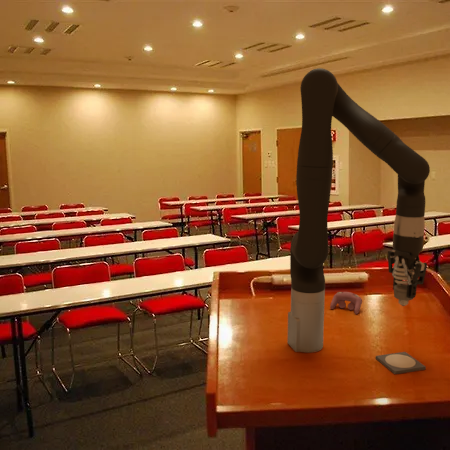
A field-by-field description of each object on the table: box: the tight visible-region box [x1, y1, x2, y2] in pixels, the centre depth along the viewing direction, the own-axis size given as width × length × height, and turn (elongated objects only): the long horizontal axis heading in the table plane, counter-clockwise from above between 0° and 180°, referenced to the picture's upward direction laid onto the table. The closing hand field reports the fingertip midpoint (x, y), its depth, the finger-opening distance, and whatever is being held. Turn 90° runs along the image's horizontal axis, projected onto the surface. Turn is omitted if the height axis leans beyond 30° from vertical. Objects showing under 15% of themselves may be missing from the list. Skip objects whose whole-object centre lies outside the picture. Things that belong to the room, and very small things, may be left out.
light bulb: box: [393, 263, 415, 307], centre depth 142 cm, size 6×6×12 cm
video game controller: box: [329, 291, 363, 315], centre depth 178 cm, size 10×5×7 cm, turn 58°
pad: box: [375, 351, 427, 375], centre depth 140 cm, size 9×9×1 cm
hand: (403, 293), depth 142 cm, fingers closed on light bulb, 5 cm apart
